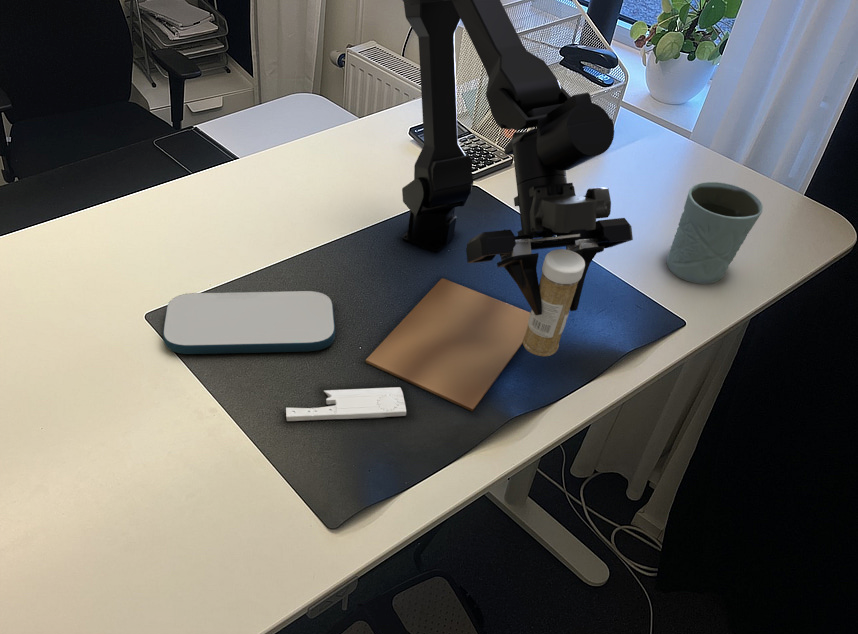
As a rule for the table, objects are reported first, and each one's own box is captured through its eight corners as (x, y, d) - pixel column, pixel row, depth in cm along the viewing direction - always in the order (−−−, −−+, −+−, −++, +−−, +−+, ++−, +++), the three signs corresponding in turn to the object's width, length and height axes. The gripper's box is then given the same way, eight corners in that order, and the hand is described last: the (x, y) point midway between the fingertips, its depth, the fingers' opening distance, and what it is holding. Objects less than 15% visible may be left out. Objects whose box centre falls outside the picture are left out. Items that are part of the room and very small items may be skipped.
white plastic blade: (285, 392, 97) (285, 386, 97) (400, 388, 98) (401, 382, 98) (286, 421, 94) (286, 415, 93) (406, 417, 95) (406, 411, 94)
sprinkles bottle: (565, 349, 96) (594, 262, 86) (539, 362, 94) (566, 276, 84) (539, 329, 98) (565, 242, 89) (513, 341, 97) (537, 255, 87)
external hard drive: (161, 358, 102) (159, 347, 100) (169, 303, 110) (167, 292, 108) (336, 354, 103) (337, 343, 101) (332, 300, 111) (332, 289, 109)
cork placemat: (365, 362, 102) (365, 359, 101) (441, 280, 114) (442, 277, 114) (472, 411, 96) (473, 409, 95) (540, 319, 108) (541, 316, 108)
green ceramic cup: (650, 267, 118) (677, 199, 109) (679, 240, 123) (707, 173, 114) (713, 295, 113) (746, 226, 104) (740, 266, 118) (774, 198, 109)
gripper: (492, 170, 80) (508, 316, 81) (652, 155, 83) (667, 296, 84) (458, 195, 91) (473, 323, 92) (600, 181, 94) (614, 306, 95)
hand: (556, 312), depth 90 cm, fingers closed on sprinkles bottle, 4 cm apart
